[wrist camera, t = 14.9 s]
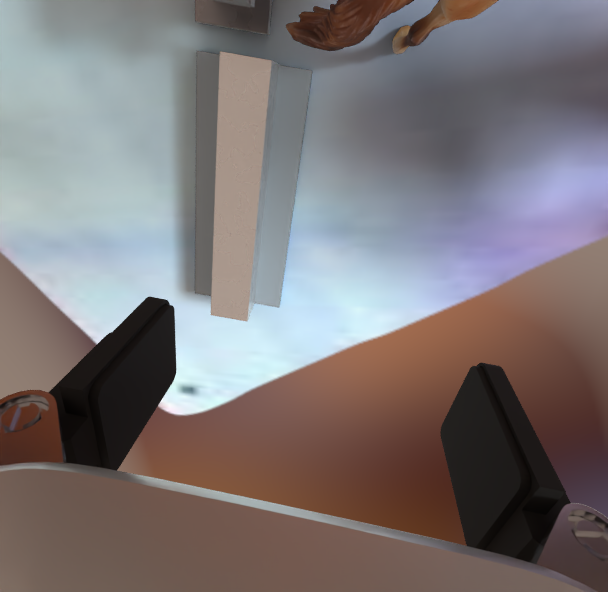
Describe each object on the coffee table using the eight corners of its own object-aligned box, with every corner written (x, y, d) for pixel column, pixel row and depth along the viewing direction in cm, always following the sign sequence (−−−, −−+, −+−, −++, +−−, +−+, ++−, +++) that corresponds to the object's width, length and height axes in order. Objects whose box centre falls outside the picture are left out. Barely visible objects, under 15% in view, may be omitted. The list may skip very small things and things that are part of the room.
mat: (312, 71, 32) (311, 70, 32) (279, 305, 44) (279, 307, 43) (198, 51, 32) (196, 50, 32) (196, 290, 44) (195, 293, 43)
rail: (279, 63, 32) (271, 60, 28) (254, 302, 43) (247, 321, 40) (233, 55, 32) (219, 51, 28) (221, 297, 43) (210, 314, 40)
